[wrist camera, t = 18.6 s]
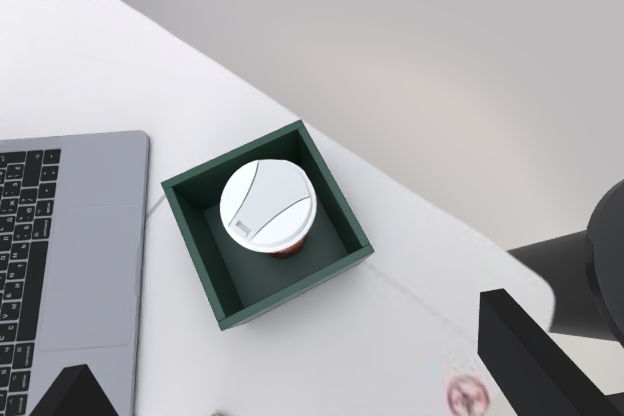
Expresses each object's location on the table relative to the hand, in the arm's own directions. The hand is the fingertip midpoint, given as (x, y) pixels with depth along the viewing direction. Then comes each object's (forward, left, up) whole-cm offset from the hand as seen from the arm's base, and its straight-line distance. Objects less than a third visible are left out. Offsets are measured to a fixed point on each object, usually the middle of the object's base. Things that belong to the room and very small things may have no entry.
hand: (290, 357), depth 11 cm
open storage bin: (+10, -1, -27) cm, 29 cm away
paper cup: (+10, -2, -26) cm, 28 cm away
